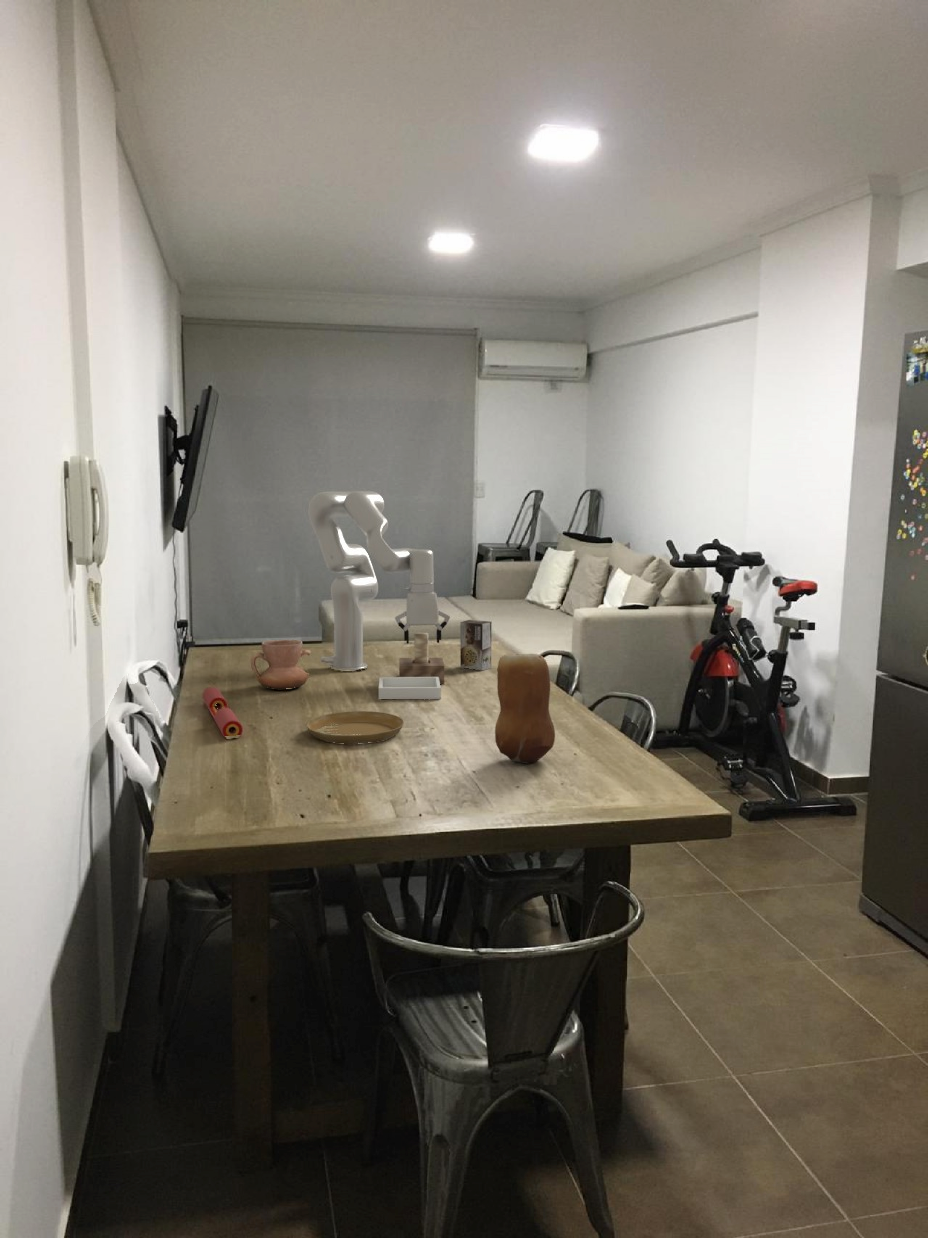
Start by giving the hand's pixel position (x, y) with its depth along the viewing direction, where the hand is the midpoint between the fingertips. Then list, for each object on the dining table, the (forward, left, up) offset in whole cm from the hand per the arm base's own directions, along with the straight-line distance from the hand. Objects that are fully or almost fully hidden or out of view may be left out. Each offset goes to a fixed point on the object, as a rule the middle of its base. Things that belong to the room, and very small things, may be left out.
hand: (422, 642), depth 306 cm
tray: (-4, -20, -12) cm, 23 cm away
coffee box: (+19, +20, -12) cm, 30 cm away
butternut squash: (+21, -92, -12) cm, 95 cm away
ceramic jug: (-43, -10, -12) cm, 46 cm away
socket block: (0, 0, -12) cm, 12 cm away
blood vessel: (-54, -50, -13) cm, 75 cm away
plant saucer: (-18, -66, -13) cm, 69 cm away
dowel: (0, 0, -12) cm, 12 cm away
